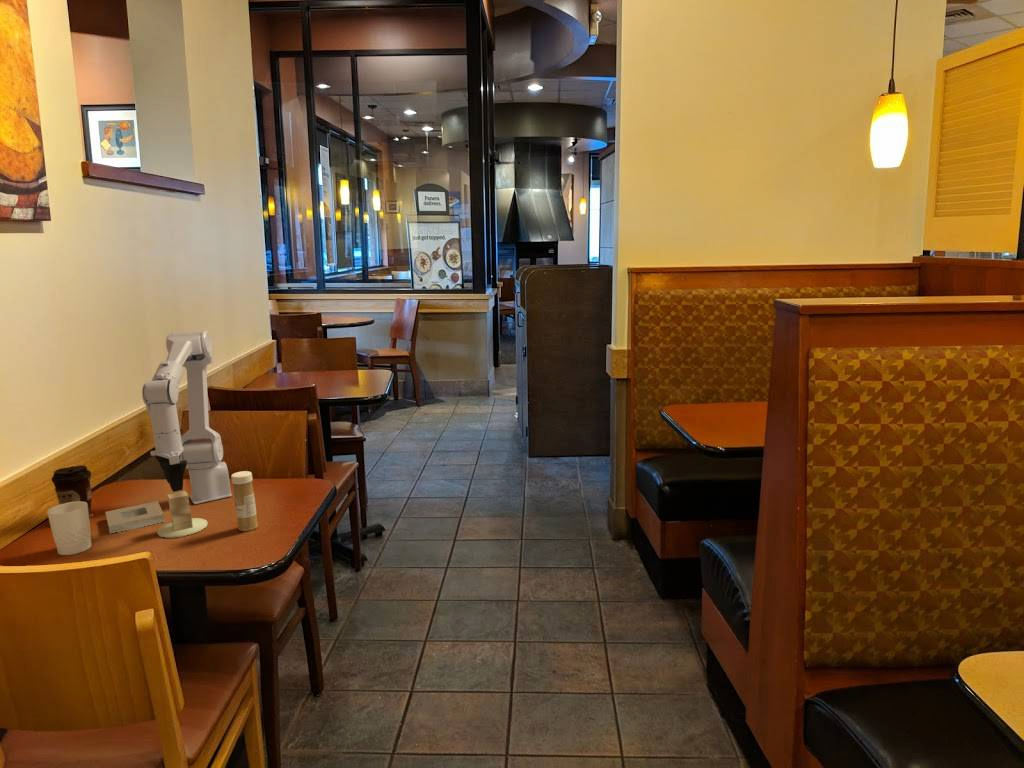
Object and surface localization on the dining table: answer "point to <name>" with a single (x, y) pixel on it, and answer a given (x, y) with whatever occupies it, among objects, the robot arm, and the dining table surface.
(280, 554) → the dining table surface
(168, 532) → the mat
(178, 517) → the square peg
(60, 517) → the white cup
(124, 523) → the socket block
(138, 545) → the dining table surface
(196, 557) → the dining table surface
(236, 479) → the sprinkles bottle
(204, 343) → the robot arm
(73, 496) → the coffee cup
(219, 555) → the dining table surface
